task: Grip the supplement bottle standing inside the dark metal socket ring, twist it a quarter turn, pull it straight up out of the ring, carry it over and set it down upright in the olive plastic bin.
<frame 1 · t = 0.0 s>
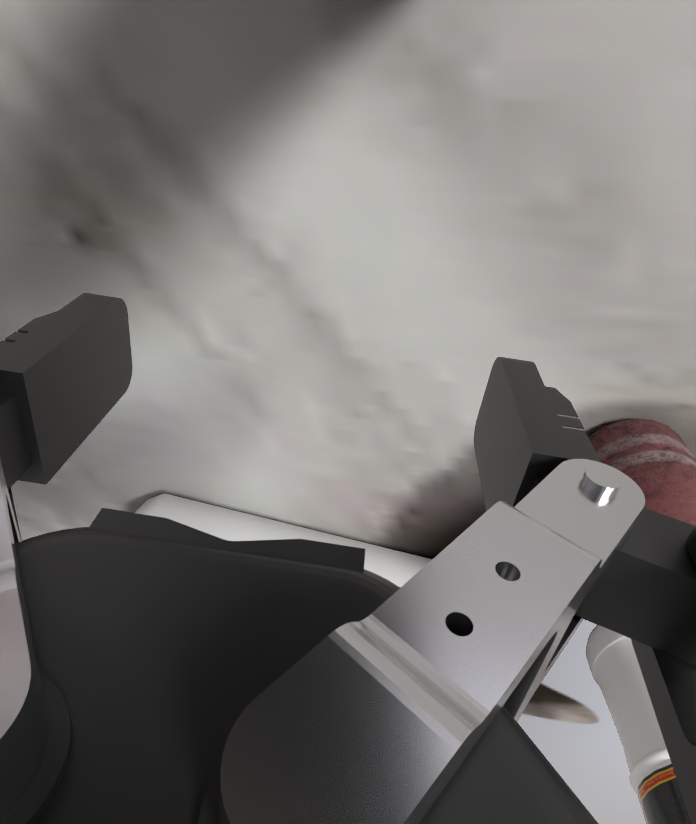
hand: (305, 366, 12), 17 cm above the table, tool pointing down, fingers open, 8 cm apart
tube: (316, 539, 40), on the table
can: (625, 454, 34), on the table
vodka: (645, 634, 43), on the table
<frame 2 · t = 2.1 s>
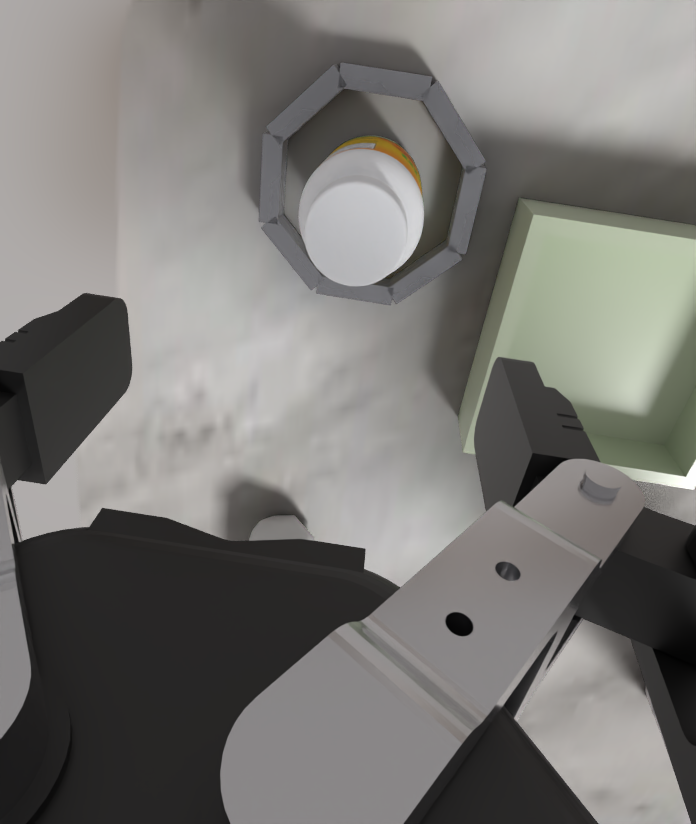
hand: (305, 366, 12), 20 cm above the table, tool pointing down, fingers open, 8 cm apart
supplement bottle: (370, 189, 30), resting in socket ring
tube: (276, 610, 48), on the table
bin: (600, 337, 32), on the table
socket ring: (369, 190, 29), on the table
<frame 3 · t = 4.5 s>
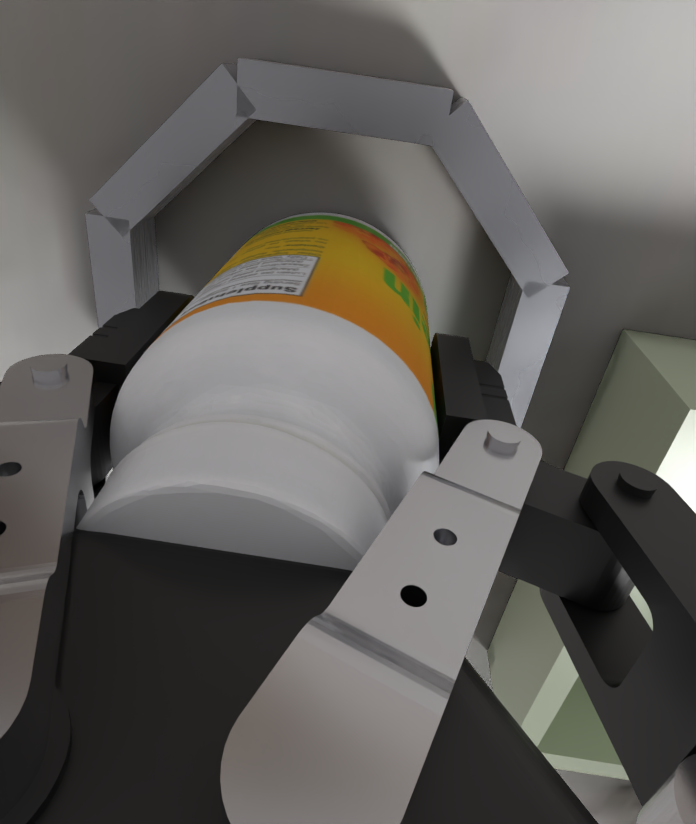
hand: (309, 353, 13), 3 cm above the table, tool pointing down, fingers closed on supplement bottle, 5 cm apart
supplement bottle: (326, 309, 15), resting in socket ring, touching gripper
socket ring: (325, 312, 15), on the table
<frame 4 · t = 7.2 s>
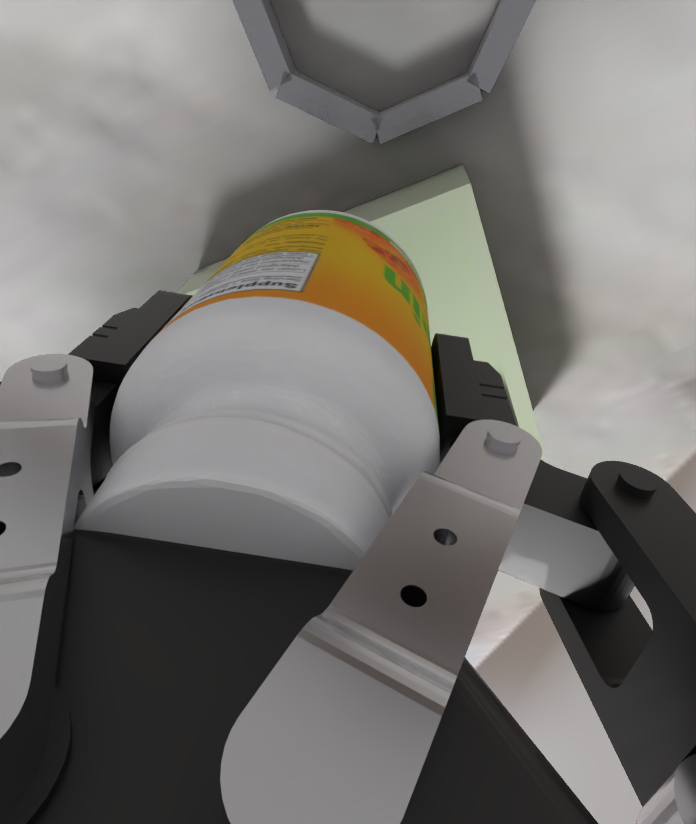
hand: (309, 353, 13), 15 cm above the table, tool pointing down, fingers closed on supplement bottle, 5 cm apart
supplement bottle: (326, 307, 15), point 12 cm above the table, touching gripper
bin: (372, 344, 29), on the table
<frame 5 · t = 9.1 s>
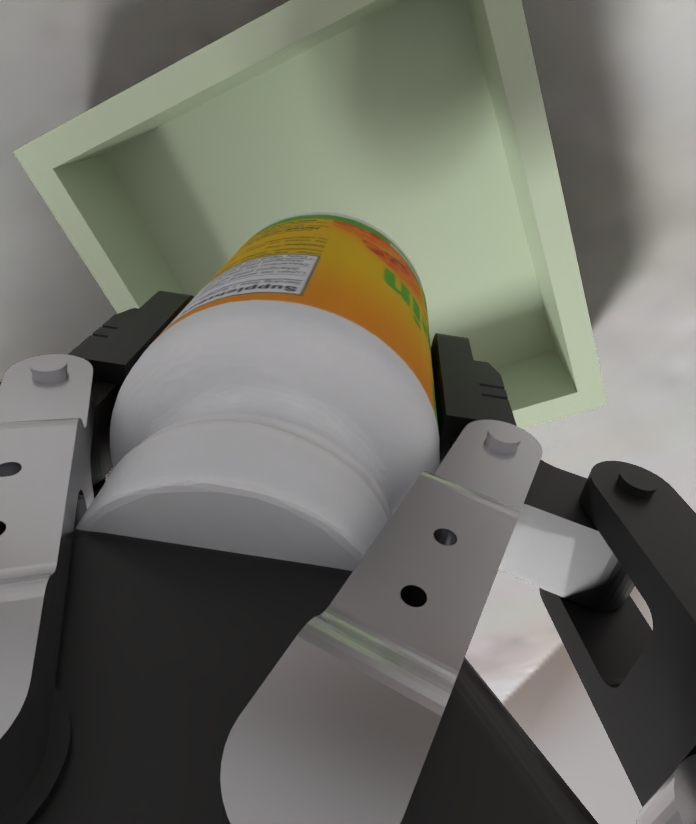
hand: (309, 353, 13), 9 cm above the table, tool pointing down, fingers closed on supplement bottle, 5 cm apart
supplement bottle: (326, 309, 15), point 6 cm above the table, touching gripper
bin: (344, 251, 20), on the table
when the fingers open (4 cm above the table, at t = 10.4 s): supplement bottle stays where it is, resting on bin.
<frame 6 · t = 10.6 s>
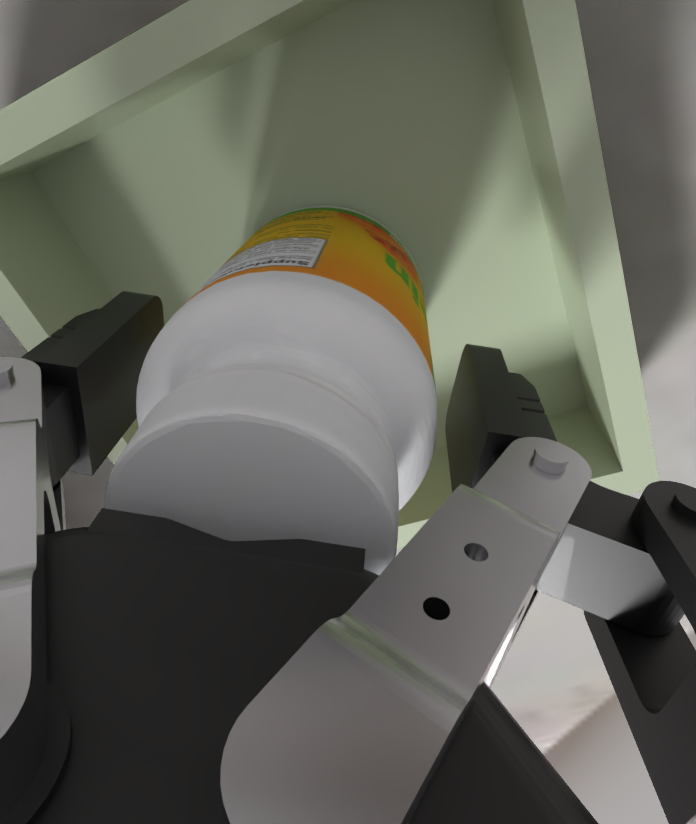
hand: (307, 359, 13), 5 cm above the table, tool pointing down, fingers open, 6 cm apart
supplement bottle: (328, 299, 16), point 1 cm above the table, touching bin
bin: (331, 287, 17), on the table
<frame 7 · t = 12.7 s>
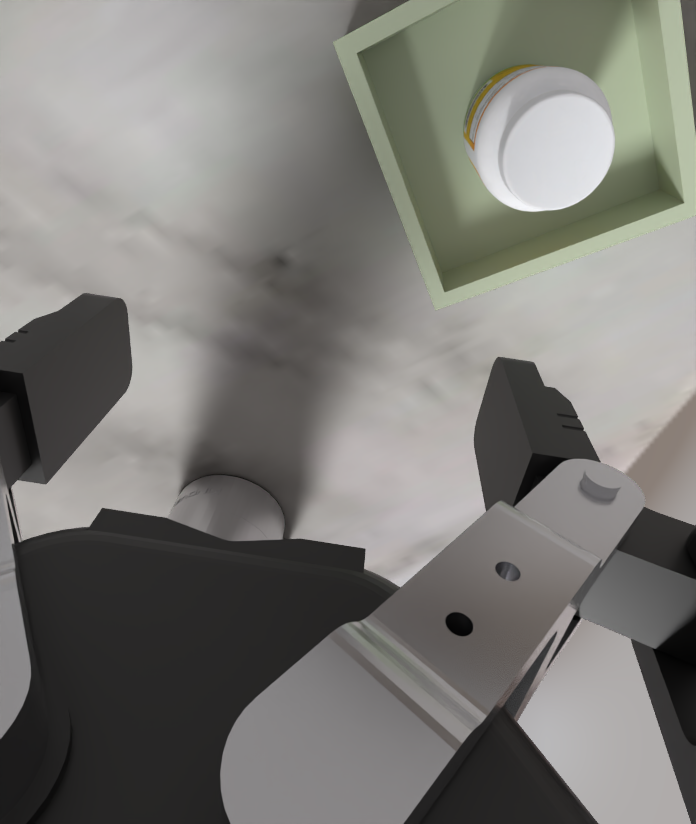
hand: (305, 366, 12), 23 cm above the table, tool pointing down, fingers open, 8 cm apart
supplement bottle: (515, 125, 29), point 1 cm above the table, touching bin
bin: (513, 121, 29), on the table
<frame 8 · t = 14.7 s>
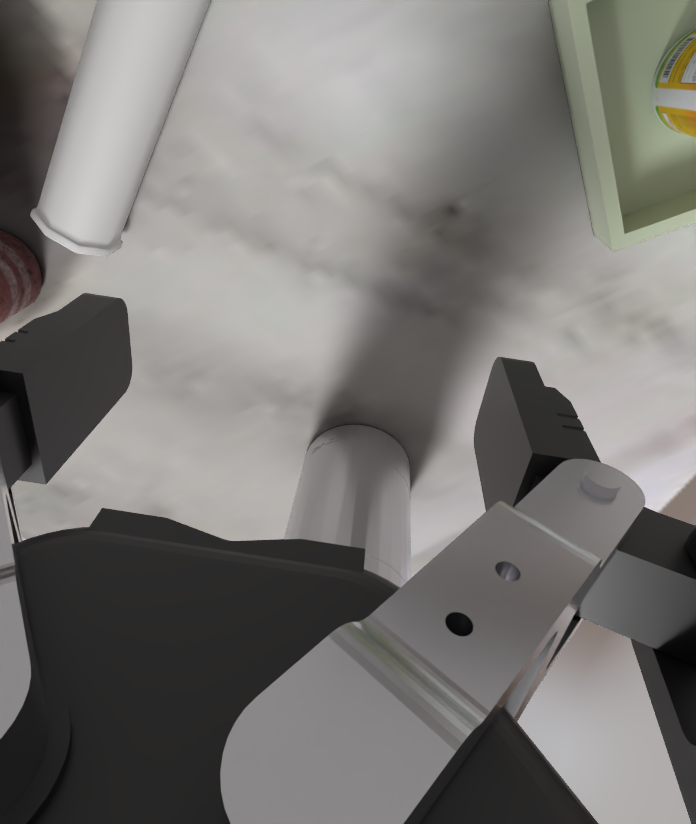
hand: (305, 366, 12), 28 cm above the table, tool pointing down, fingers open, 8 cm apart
tube: (157, 44, 34), on the table
bin: (694, 78, 32), on the table
can: (5, 266, 42), on the table
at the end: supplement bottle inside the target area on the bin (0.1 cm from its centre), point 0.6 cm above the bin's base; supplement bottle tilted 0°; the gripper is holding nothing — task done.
